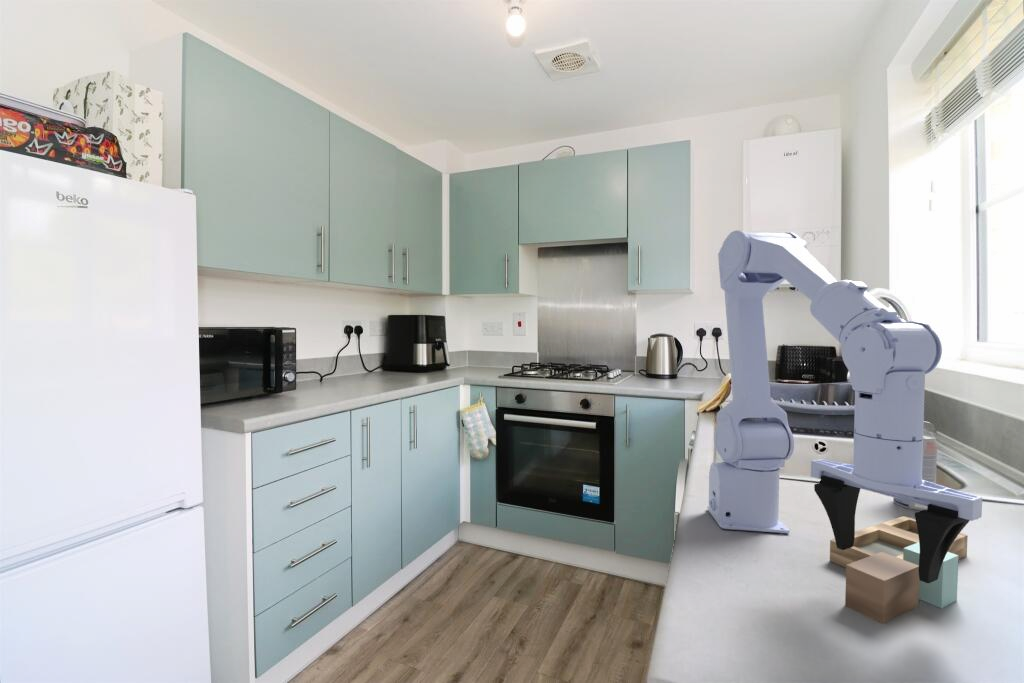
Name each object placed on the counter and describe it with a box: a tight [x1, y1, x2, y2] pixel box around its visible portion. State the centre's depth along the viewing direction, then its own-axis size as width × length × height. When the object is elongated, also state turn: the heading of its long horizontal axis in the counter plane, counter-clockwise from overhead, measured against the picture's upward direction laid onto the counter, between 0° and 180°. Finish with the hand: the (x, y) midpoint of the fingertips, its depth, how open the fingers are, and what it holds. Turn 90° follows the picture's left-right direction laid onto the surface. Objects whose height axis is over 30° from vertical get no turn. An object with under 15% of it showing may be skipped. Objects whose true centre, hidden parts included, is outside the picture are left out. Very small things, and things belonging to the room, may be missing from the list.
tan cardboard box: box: [844, 552, 920, 625], centre depth 50 cm, size 7×4×4 cm, turn 116°
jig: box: [829, 515, 969, 569], centre depth 60 cm, size 18×7×3 cm, turn 117°
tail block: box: [903, 542, 959, 609], centre depth 52 cm, size 4×4×5 cm
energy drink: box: [892, 433, 938, 512], centre depth 79 cm, size 5×5×12 cm
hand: (883, 562), depth 50 cm, fingers open, 7 cm apart
